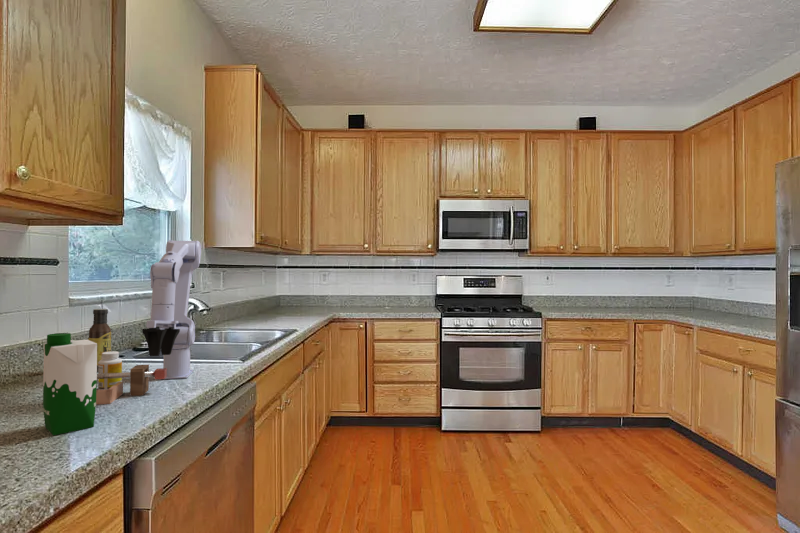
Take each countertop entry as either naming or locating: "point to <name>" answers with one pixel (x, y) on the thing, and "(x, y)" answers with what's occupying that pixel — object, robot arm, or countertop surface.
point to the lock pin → (157, 374)
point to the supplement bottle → (109, 369)
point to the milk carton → (69, 383)
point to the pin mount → (139, 380)
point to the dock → (109, 394)
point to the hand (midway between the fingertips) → (160, 355)
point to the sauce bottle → (100, 333)
